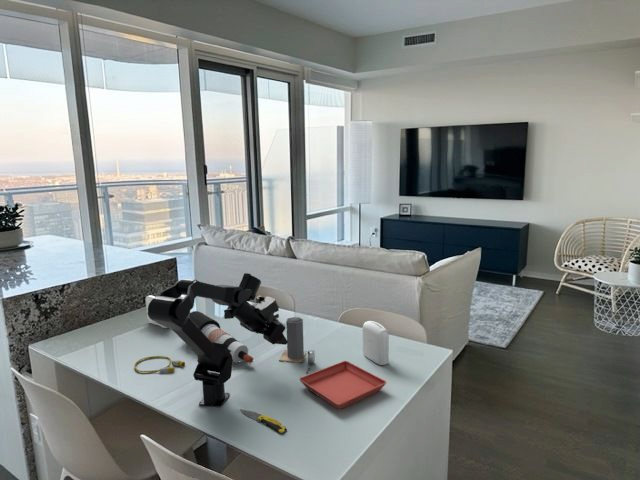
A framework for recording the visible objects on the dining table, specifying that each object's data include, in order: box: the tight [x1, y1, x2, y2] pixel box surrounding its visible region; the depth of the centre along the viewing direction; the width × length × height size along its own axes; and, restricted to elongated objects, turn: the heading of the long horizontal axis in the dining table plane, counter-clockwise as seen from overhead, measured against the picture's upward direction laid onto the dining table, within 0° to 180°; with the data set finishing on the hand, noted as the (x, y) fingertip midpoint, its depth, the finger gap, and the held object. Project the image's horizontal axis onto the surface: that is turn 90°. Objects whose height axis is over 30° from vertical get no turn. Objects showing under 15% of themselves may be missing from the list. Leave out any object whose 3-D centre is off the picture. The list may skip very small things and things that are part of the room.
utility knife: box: [240, 408, 288, 435], centre depth 111 cm, size 16×1×3 cm
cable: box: [189, 310, 254, 365], centre depth 150 cm, size 10×34×10 cm, turn 47°
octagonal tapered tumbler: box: [286, 316, 305, 359], centre depth 145 cm, size 5×5×12 cm
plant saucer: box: [298, 360, 387, 410], centre depth 125 cm, size 18×18×3 cm
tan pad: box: [278, 349, 308, 363], centre depth 146 cm, size 8×8×1 cm
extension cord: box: [133, 355, 186, 375], centre depth 141 cm, size 12×16×2 cm
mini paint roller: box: [305, 349, 316, 374], centre depth 138 cm, size 8×2×4 cm, turn 170°
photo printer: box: [362, 320, 390, 366], centre depth 142 cm, size 10×4×12 cm, turn 29°
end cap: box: [251, 303, 280, 323], centre depth 178 cm, size 10×7×7 cm
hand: (278, 338), depth 140 cm, fingers open, 9 cm apart
